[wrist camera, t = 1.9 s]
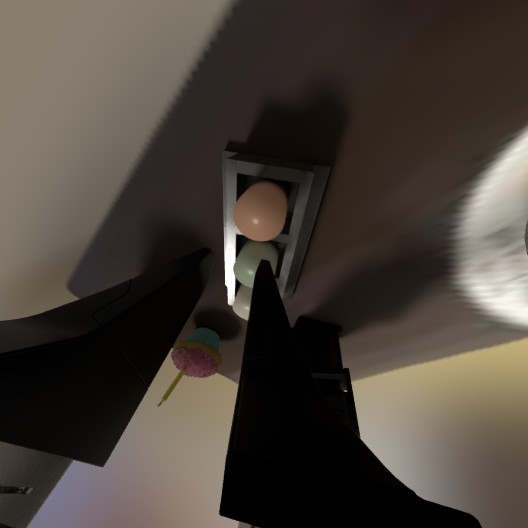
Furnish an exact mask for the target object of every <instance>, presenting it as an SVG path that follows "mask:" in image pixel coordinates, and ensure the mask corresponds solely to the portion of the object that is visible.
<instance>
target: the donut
mask: <svg viewBox="0 0 528 528" xmlns="http://www.w3.org/2000/svg"><path fill="white" fill-rule="evenodd" d="M524 238H525V244H526V250H527V254H528V221H527V224H526V230H525V237H524Z"/></svg>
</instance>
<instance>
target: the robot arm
mask: <svg viewBox="0 0 528 528" xmlns="http://www.w3.org/2000/svg"><path fill="white" fill-rule="evenodd" d="M213 268H214V251H213V249H210V248H202V249H200V250H197V251H195V252H193V253H190V254H188V255H186V256H183V257H181V258H179V259H176V260H174V261H172V262H170V263H167V264H165V265H163V266H160V267H158V268H156V269H153V270H151V271H149V272H146V273H144V274H142V275H139V276H137V277H135V278H133V279H130V280H128V281H125V282H123V283H121V284H118V285H116V286H113V287H111V288H108V289H106V290H103V291H101V292H98V293H95V294H93V295H90V296H87V297H84V298H82V299H79V300H76V301H74V302H71V303H68V304H65V305H62V306H60V307H57V308H54V309H51V310H49V311H46V312H43V313H40V314H37V315H33V316H30V317H25V318H20V319H14V320H5V321H0V528H27V527H28V525H29V524H30V523H31V521H32V520H33V518H34V517H35V515H36V514H37V512H38V511H39V509H40V508H41V507H42V505H43V504H44V502H45V501H46V499H47V498H48V496H49V495H50V494H51V492H52V491H53V489H54V488H55V486H56V485H57V483H58V482H59V481H60V479H61V478H62V476H63V475H64V473H65V472H66V470H67V469H68V468H69V466H70V465H71V463H72V462H73V460H75V461H80V462H83V463H88V464H91V465H95V466H99V467H103V466H104V465H105V463H106V462H107V460H108V458H109V457H110V455H111V453H112V451H113V450H114V448H115V446H116V444H117V443H118V441H119V439H120V437H121V436H122V434H123V432H124V430H125V429H126V427H127V425H128V423H129V422H130V420H131V418H132V416H133V415H134V413H135V411H136V409H137V408H138V406H139V404H140V402H141V401H142V399H143V397H144V395H145V394H146V392H147V390H148V387H149V386H150V385H151V383H152V381H153V379H154V378H155V376H156V374H157V372H158V371H159V369H160V367H161V365H162V363H163V362H164V360H165V358H166V357H167V355H168V353H169V351H170V350H171V348H172V346H173V344H174V343H175V341H176V339H177V337H178V336H179V334H180V332H181V331H182V329H183V327H184V325H185V324H186V322H187V320H188V318H189V317H190V315H191V313H192V311H193V310H194V308H195V306H196V304H197V303H198V301H199V299H200V297H201V295H202V294H203V291H204V289H205V287H206V284H207V282H208V280H209V277H210V275H211V273H212V270H213ZM342 331H343V329H342V327H341V326H337V325H333V324H328V323H324V322H319V321H315V320H310V319H306V318H301V317H300V318H298V319H297V322H296V324H295V327H293V328H292V329H291V326H290V323H289V320H288V317H287V314H286V311H285V308H284V305H283V301H282V298H281V295H280V292H279V289H278V285H277V282H276V279H275V276H274V273H273V270H272V266H271V263H270V261H269V260H265V259H261V260H260V263H259V265H258V268H257V270H256V272H255V276H254V282H253V289H252V296H251V303H250V310H249V317H248V324H247V331H246V338H245V345H244V353H243V360H242V367H241V373H240V380H239V386H238V392H237V398H236V403H235V409H234V415H233V421H232V426H231V432H230V438H229V444H228V450H227V455H226V463H225V471H224V480H223V488H222V496H221V503H220V510H219V514H220V515H221V516H224V517H227V518H230V519H233V520H236V521H239V525H238V528H482V527H481V525H480V523H479V521H478V520H477V519H476V518H475V517H474V516H473V515H471V514H469V513H466V512H463V511H460V510H456V509H453V508H450V507H447V506H443V505H440V504H437V503H434V502H430V501H427V500H424V499H422V498H421V497H419V496H417V495H416V493H415V492H414V491H412V490H411V489H409V488H408V487H407V486H406V485H404V484H403V483H402V482H401V481H400V480H398V479H397V478H396V477H395V476H394V475H393V474H392V473H391V472H390V471H389V470H388V469H387V468H386V467H385V466H384V465H383V464H382V463H381V462H380V460H379V459H378V458H377V457H376V456H375V455H374V453H373V452H372V451H371V450H370V449H369V448H368V447H367V446H366V444H365V443H364V442H363V441H362V440H361V439H360V432H359V426H358V420H357V414H356V408H355V402H354V396H353V390H352V384H351V378H350V372H349V368H344V369H343V364H342V358H341V351H340V344H339V336H340V334H341V333H342ZM343 390H347V392H344V391H343Z"/></svg>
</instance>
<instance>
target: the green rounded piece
mask: <svg viewBox="0 0 528 528" xmlns="http://www.w3.org/2000/svg"><path fill="white" fill-rule="evenodd" d="M278 257H279V248H278V245H277V244H276V242H275V241H272V240H268V241H255V240H252V239H249V238H248V239H247V240H246V242H245V244H244V246H243V247H242V249H241V251H240V253H239V255H238V257H237V259H236V261H235V263H234V265H233V273H234V275H235V277H236V278H237V280H238V281H239V282H240V283H242V284H243V285H245V286H248V287H251V288H253V282H254V276H255V272H256V270H257V268H258V265H259V263H260V260H261V259H265V260H269V261H270V263H271V266H272V270H273V273H274V275H275V271H276V266H277V261H278Z"/></svg>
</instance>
